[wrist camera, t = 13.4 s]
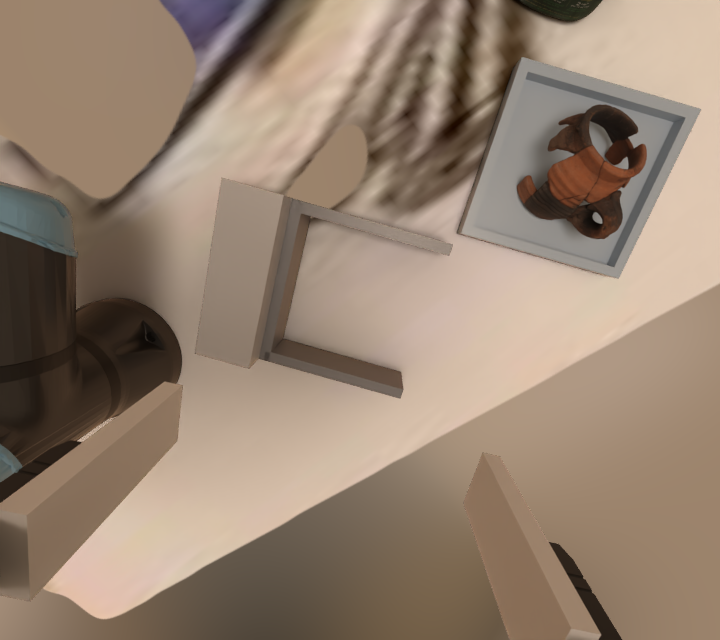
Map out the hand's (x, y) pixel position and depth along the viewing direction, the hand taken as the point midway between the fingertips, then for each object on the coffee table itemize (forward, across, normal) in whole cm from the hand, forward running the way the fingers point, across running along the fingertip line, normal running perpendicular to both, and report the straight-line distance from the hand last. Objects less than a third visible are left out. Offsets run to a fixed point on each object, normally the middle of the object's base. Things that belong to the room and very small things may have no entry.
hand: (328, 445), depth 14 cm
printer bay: (+28, -4, +1) cm, 29 cm away
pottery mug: (+27, +19, +18) cm, 38 cm away
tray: (+28, +19, +19) cm, 38 cm away
